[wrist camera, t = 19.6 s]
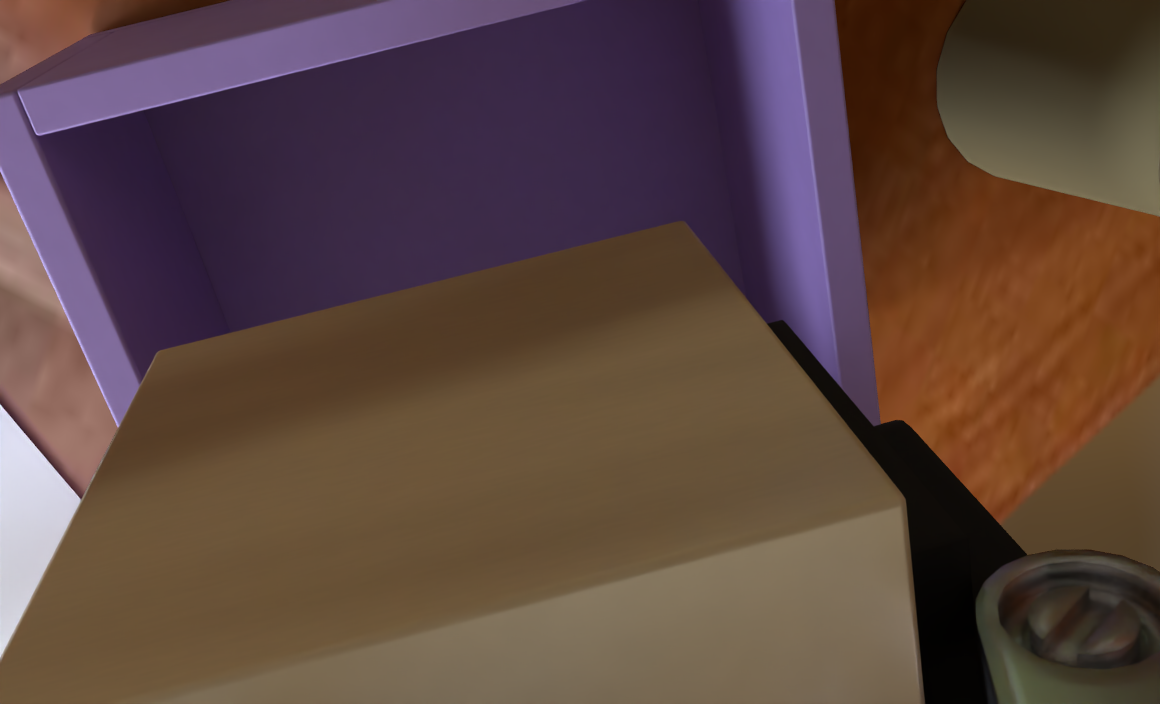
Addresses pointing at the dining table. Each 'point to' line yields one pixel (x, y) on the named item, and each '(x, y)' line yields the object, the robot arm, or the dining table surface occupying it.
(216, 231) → the box
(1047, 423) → the dining table surface
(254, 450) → the block
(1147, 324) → the dining table surface
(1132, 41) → the grey green pawn
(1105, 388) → the dining table surface
